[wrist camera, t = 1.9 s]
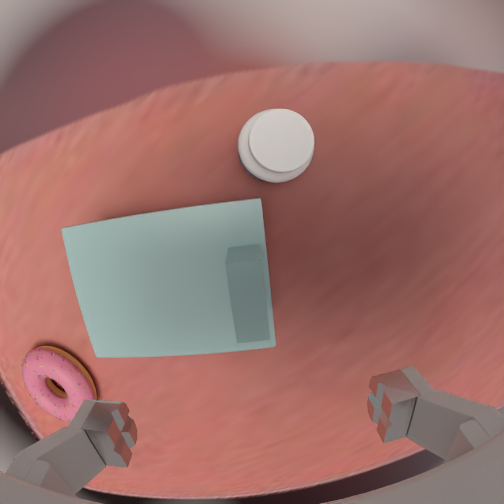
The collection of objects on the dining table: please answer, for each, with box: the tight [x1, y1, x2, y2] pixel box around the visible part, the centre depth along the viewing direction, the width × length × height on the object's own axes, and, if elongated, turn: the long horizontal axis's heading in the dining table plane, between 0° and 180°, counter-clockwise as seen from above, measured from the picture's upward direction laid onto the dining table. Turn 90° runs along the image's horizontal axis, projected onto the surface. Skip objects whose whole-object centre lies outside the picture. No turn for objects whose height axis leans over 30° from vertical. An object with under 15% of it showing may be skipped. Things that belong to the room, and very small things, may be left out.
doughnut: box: [21, 346, 97, 422], centre depth 29 cm, size 11×11×4 cm
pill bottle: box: [238, 109, 314, 183], centre depth 22 cm, size 5×5×9 cm
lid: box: [62, 198, 276, 357], centre depth 20 cm, size 15×11×5 cm
